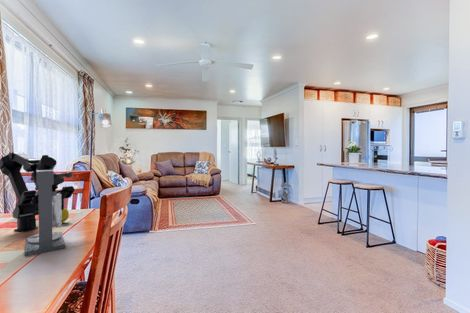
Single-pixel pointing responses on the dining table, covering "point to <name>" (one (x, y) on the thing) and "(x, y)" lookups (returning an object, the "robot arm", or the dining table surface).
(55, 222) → the silver metal bottle
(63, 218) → the lemon
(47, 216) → the stand
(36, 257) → the dining table surface
